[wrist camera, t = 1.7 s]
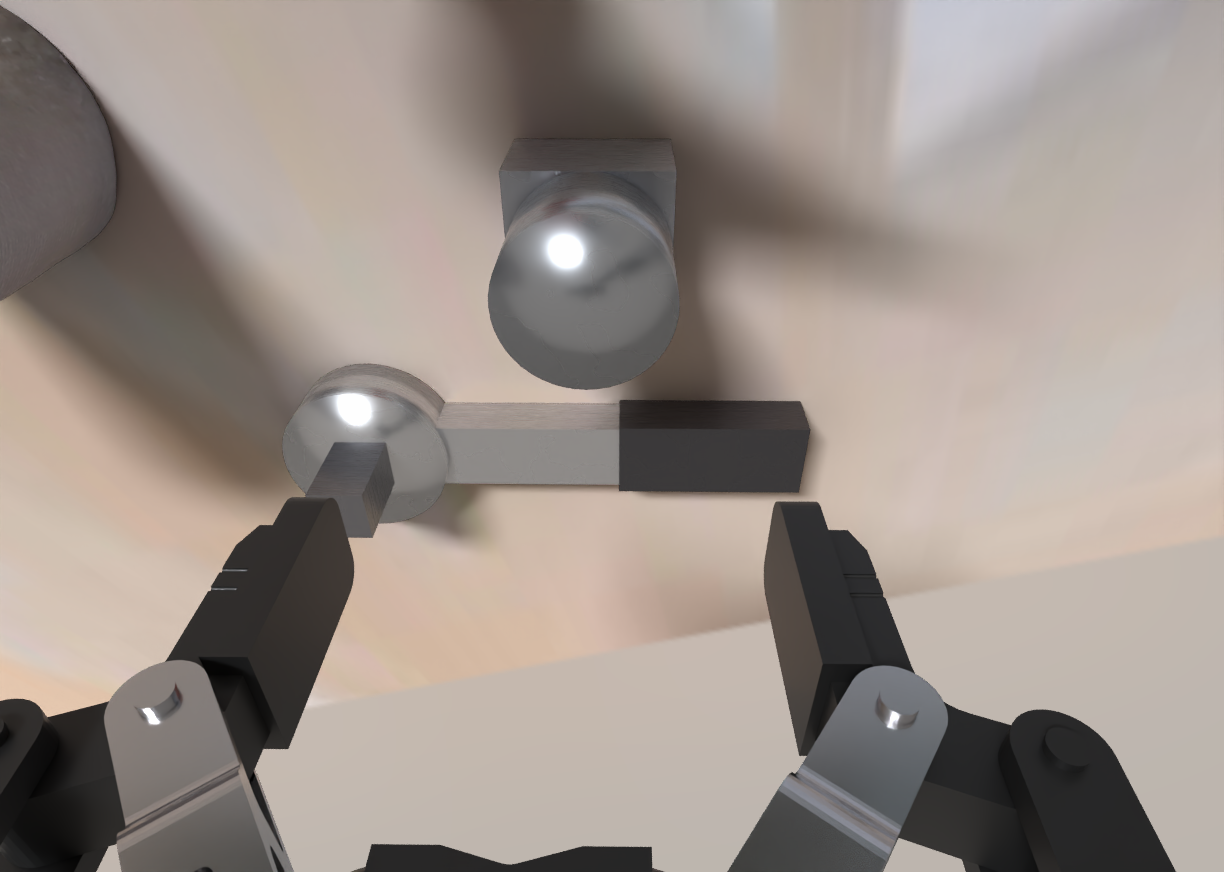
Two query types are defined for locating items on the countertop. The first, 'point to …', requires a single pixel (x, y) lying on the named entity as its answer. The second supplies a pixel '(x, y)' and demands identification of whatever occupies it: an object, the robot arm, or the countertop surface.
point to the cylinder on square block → (586, 259)
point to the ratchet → (524, 445)
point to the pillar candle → (47, 158)
